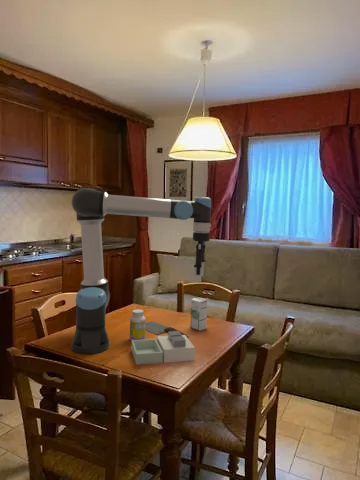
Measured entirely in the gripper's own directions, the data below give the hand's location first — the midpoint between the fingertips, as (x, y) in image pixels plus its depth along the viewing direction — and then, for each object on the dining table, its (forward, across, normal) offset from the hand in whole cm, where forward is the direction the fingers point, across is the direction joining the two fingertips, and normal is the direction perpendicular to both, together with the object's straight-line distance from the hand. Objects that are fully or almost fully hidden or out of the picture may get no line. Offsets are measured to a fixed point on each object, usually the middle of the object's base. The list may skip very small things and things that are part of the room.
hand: (199, 279), depth 168 cm
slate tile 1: (+21, -26, +5) cm, 34 cm away
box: (+26, -27, +17) cm, 42 cm away
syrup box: (+26, +10, 0) cm, 28 cm away
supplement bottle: (+26, -11, +25) cm, 38 cm away
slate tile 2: (+21, -20, +7) cm, 30 cm away
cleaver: (+27, +1, +16) cm, 31 cm away
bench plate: (+26, -23, +7) cm, 36 cm away
